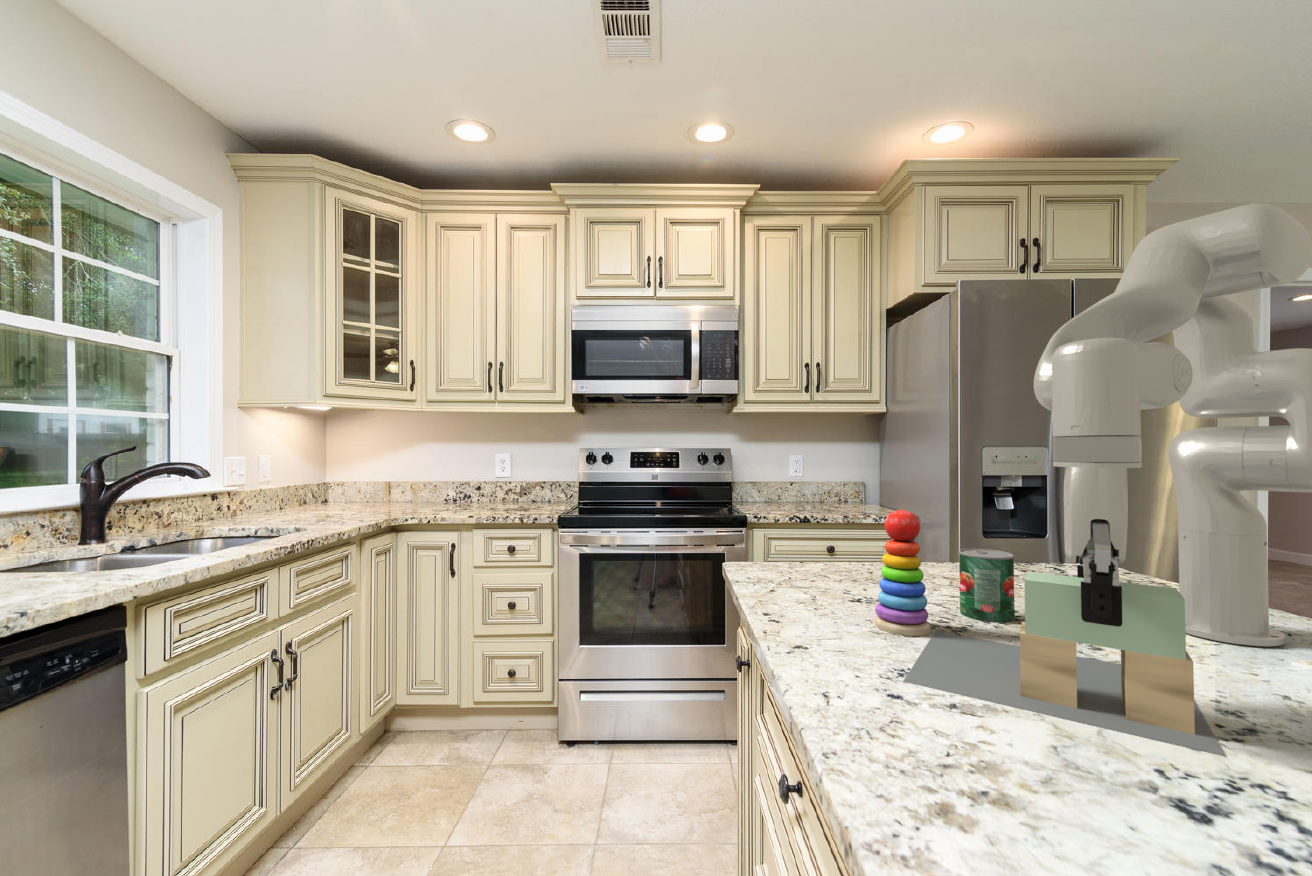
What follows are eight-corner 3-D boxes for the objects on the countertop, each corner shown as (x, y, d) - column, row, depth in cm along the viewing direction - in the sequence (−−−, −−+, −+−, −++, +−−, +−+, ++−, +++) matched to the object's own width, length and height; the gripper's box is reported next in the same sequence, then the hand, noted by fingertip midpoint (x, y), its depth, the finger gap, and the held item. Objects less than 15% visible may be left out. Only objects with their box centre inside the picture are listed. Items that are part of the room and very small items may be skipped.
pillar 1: (1022, 680, 65) (1021, 621, 65) (1075, 691, 62) (1074, 629, 62) (1020, 696, 61) (1019, 633, 61) (1077, 708, 58) (1076, 642, 58)
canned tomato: (1026, 627, 87) (1025, 557, 87) (976, 626, 87) (975, 557, 87) (995, 612, 95) (995, 548, 95) (950, 611, 95) (949, 548, 95)
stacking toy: (937, 642, 80) (936, 513, 80) (879, 638, 81) (878, 512, 82) (922, 625, 88) (921, 508, 88) (870, 622, 89) (869, 507, 90)
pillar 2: (1121, 701, 60) (1120, 637, 60) (1184, 714, 57) (1183, 646, 57) (1126, 719, 56) (1125, 650, 56) (1194, 734, 53) (1193, 661, 53)
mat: (935, 635, 83) (935, 631, 83) (1180, 679, 67) (1179, 674, 67) (903, 686, 65) (903, 681, 65) (1226, 763, 49) (1226, 756, 49)
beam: (1027, 622, 65) (1026, 571, 65) (1176, 645, 57) (1175, 588, 57) (1025, 633, 61) (1024, 579, 61) (1186, 660, 53) (1184, 598, 53)
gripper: (1052, 453, 69) (1054, 590, 68) (1053, 454, 55) (1055, 626, 54) (1131, 453, 64) (1134, 600, 64) (1153, 454, 50) (1157, 642, 50)
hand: (1098, 612), depth 59 cm, fingers open, 9 cm apart
